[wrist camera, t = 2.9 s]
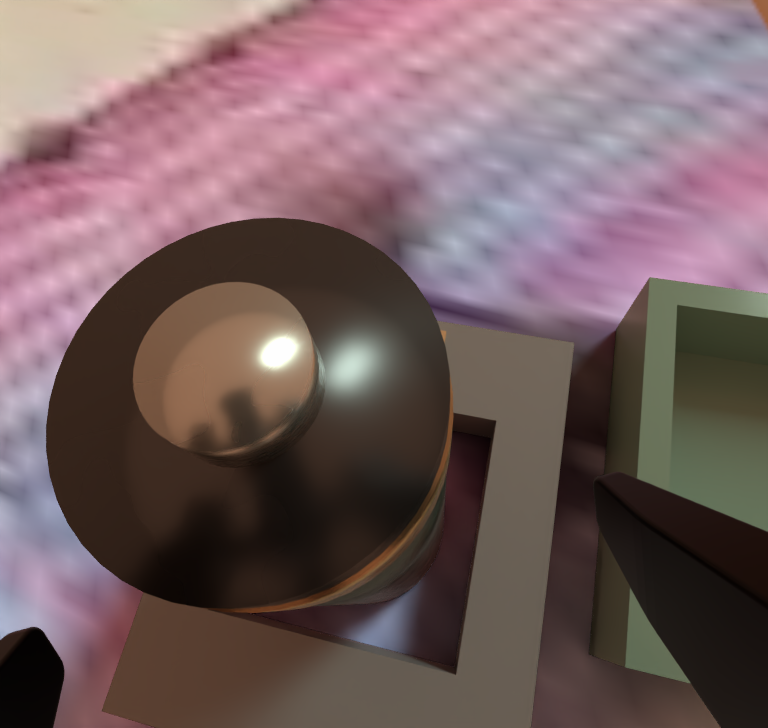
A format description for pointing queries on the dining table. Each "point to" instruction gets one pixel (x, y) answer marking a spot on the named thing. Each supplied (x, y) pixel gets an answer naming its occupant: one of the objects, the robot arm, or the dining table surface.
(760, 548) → the robot arm
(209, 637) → the tester cradle
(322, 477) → the battery cell
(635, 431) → the cup
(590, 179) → the dining table surface
